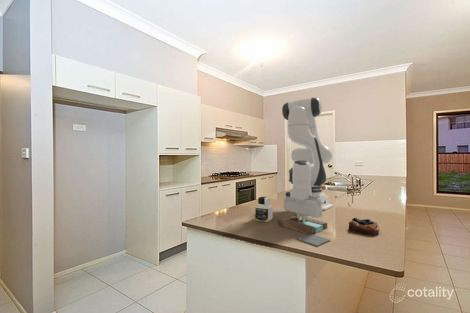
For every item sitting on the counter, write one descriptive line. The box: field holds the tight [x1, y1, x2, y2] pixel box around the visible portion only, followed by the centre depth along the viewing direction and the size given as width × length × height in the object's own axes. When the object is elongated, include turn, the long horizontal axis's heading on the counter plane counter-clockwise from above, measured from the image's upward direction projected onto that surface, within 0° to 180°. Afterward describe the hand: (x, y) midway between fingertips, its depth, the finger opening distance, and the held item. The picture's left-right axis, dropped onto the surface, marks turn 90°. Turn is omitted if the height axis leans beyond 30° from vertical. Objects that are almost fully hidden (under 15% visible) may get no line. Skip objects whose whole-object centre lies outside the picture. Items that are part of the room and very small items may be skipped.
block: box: [302, 222, 324, 234], centre depth 110 cm, size 5×8×2 cm, turn 37°
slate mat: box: [297, 233, 331, 247], centre depth 96 cm, size 9×9×1 cm
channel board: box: [277, 214, 328, 235], centre depth 115 cm, size 14×18×2 cm
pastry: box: [348, 217, 380, 237], centre depth 107 cm, size 11×12×6 cm
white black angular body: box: [254, 196, 273, 223], centre depth 127 cm, size 7×7×12 cm
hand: (302, 222), depth 114 cm, fingers closed
